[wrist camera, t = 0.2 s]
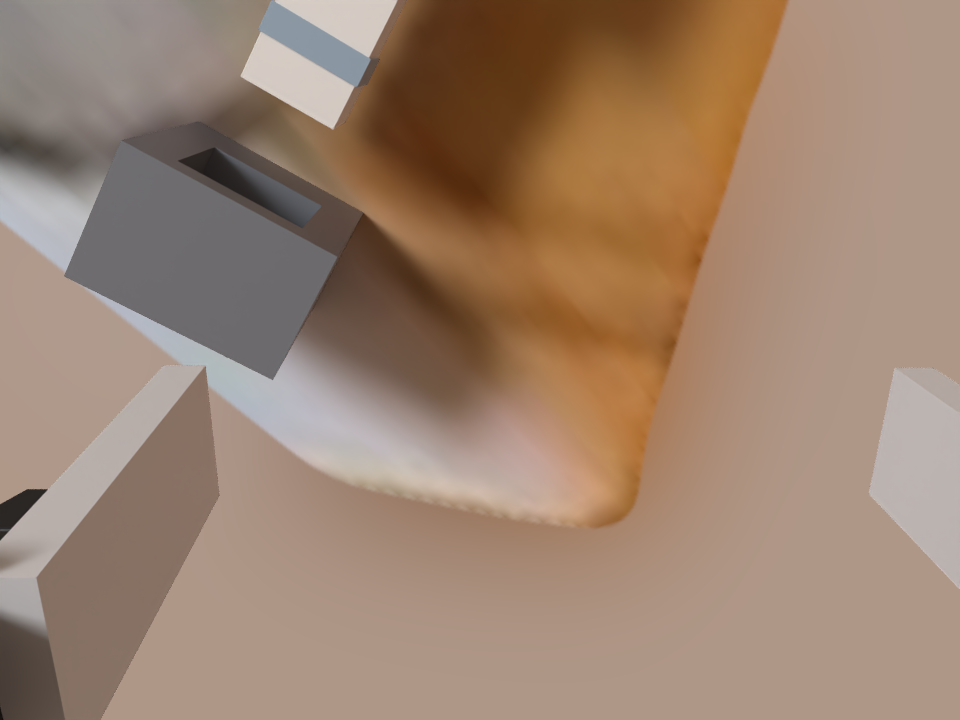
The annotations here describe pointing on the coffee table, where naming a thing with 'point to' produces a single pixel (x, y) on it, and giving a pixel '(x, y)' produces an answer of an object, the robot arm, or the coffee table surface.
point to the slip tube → (320, 52)
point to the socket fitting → (212, 242)
